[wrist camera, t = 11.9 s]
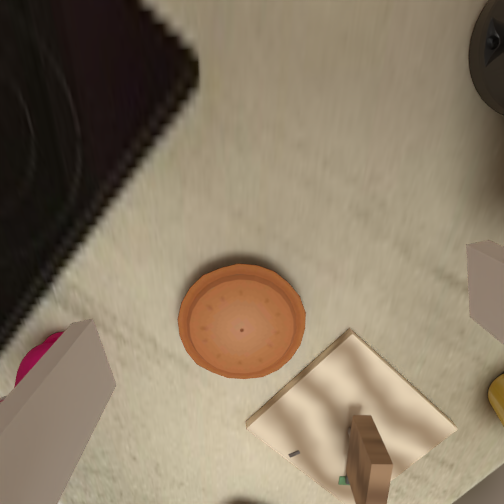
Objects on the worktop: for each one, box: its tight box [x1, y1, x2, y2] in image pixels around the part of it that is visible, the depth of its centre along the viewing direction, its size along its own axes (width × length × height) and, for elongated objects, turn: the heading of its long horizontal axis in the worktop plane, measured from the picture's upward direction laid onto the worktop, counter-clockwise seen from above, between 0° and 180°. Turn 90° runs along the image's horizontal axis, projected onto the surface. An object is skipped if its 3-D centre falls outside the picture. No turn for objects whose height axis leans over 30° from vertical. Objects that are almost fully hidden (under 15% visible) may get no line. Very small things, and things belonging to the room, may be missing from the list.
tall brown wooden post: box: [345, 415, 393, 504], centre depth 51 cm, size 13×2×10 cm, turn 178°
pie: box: [178, 263, 306, 379], centre depth 50 cm, size 15×16×5 cm
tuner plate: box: [246, 328, 457, 504], centre depth 56 cm, size 20×22×2 cm
